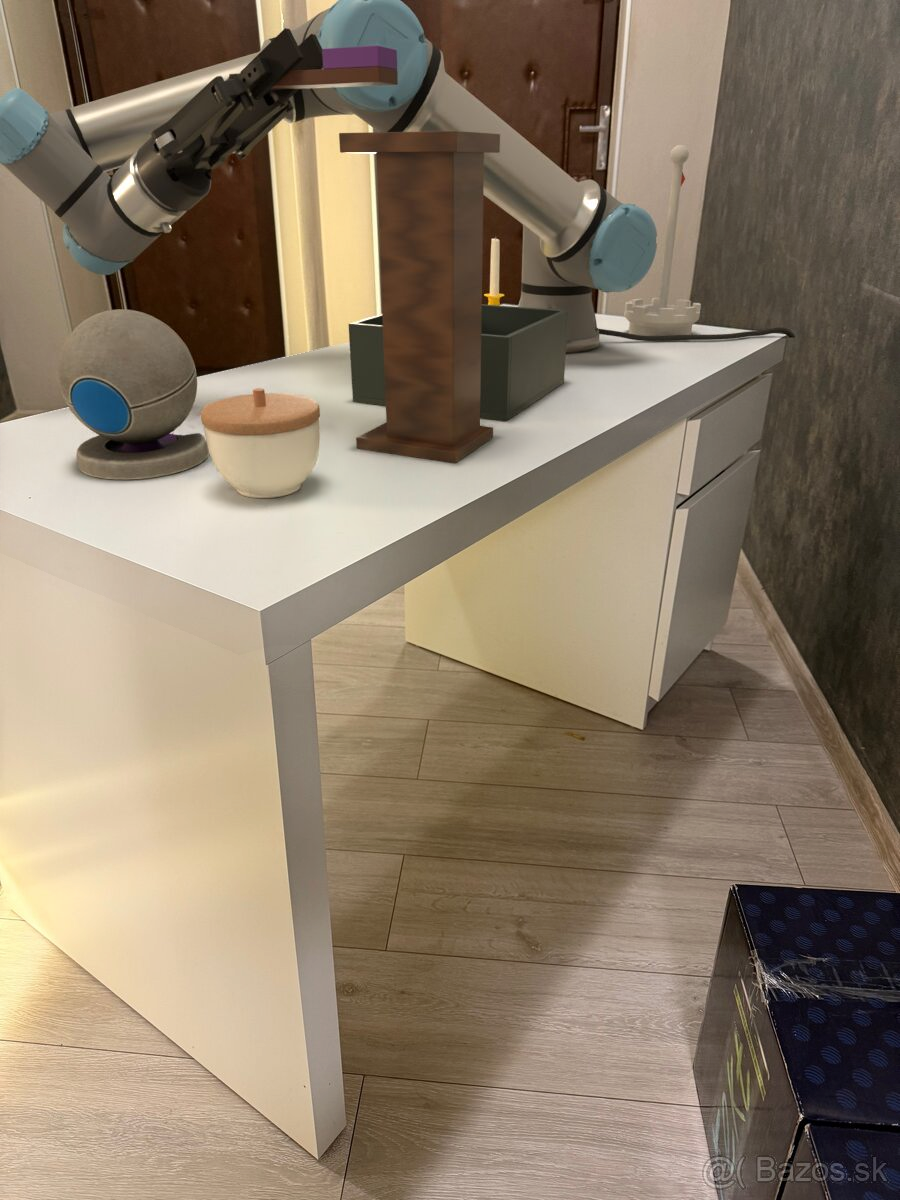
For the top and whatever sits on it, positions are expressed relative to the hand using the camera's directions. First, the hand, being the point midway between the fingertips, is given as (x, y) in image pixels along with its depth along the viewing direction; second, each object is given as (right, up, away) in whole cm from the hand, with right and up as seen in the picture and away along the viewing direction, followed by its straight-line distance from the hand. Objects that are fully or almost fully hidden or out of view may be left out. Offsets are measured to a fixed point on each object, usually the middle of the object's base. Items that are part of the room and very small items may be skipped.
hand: (307, 46), depth 79 cm
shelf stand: (+11, -36, +13) cm, 39 cm away
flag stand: (+51, -5, +70) cm, 87 cm away
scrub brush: (0, -3, +1) cm, 3 cm away
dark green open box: (+15, -25, +33) cm, 44 cm away
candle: (+22, 0, +80) cm, 83 cm away
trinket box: (-4, -42, +1) cm, 42 cm away
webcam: (-19, -38, +8) cm, 43 cm away
